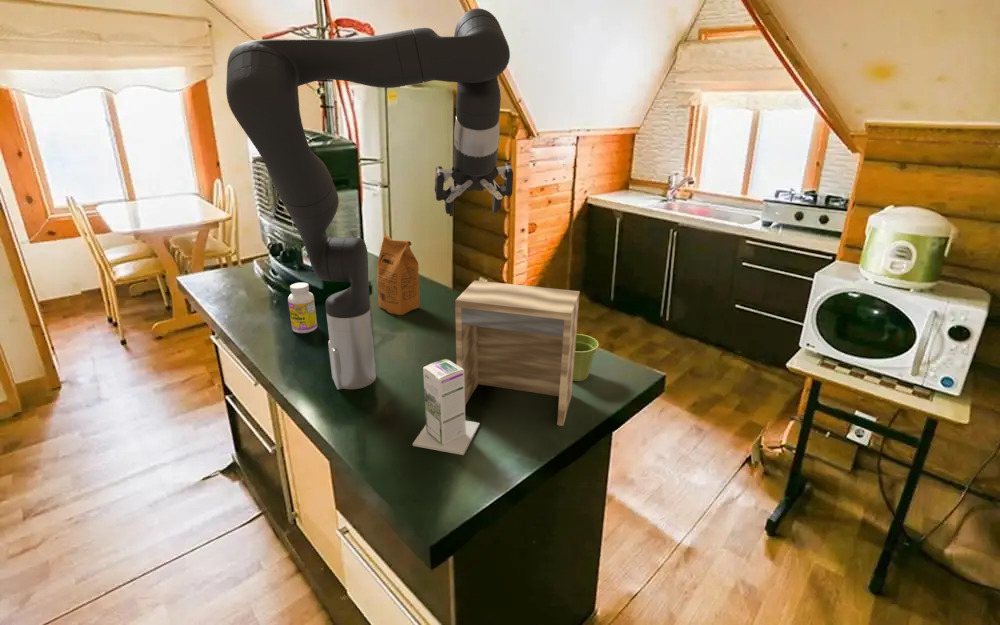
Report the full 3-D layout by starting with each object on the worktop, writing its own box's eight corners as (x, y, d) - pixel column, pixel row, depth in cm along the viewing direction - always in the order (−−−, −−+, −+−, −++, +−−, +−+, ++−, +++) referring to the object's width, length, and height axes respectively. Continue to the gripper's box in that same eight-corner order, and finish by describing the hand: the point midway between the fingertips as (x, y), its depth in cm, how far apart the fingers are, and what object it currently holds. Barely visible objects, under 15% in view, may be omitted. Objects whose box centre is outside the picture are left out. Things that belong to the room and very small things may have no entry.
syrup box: (466, 434, 103) (466, 368, 98) (441, 446, 100) (439, 378, 94) (449, 421, 107) (448, 356, 102) (424, 432, 104) (421, 366, 98)
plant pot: (603, 381, 124) (606, 347, 121) (566, 388, 121) (569, 354, 118) (583, 363, 132) (586, 331, 129) (548, 369, 129) (550, 336, 126)
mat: (463, 455, 98) (463, 452, 98) (412, 445, 101) (412, 443, 100) (479, 424, 107) (479, 422, 107) (432, 417, 110) (432, 414, 109)
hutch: (563, 426, 107) (571, 313, 98) (457, 408, 113) (455, 300, 103) (571, 395, 118) (579, 291, 109) (474, 380, 123) (474, 280, 114)
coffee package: (399, 298, 171) (395, 230, 162) (424, 309, 163) (421, 238, 155) (373, 307, 164) (367, 236, 156) (398, 318, 156) (393, 245, 148)
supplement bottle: (286, 331, 147) (280, 287, 142) (303, 322, 152) (297, 279, 147) (306, 335, 144) (300, 290, 139) (322, 326, 150) (317, 283, 145)
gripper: (513, 126, 94) (505, 196, 107) (431, 129, 92) (433, 200, 105) (521, 153, 90) (512, 223, 103) (436, 157, 88) (438, 228, 101)
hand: (472, 211), depth 104 cm, fingers open, 8 cm apart
